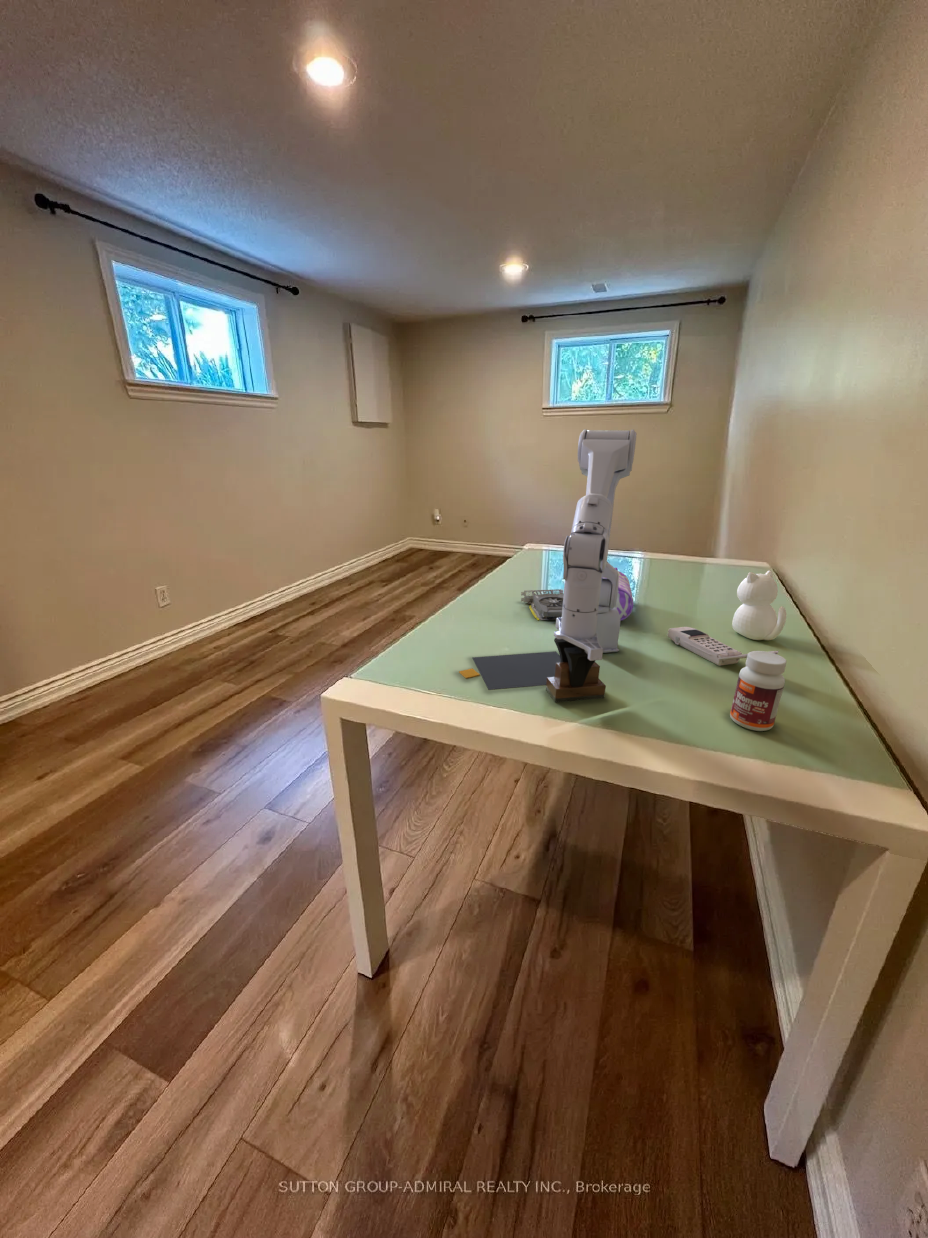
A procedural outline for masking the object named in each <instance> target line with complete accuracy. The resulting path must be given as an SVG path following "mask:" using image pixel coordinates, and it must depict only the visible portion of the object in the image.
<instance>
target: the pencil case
mask: <svg viewBox="0 0 928 1238" xmlns="http://www.w3.org/2000/svg"><path fill="white" fill-rule="evenodd" d="M614 568H615V569H616V570H617V571H618V574H619V580H618V581H619V586H618V594H617V601H616V607H615V608H616V609H617V610H618V612H619V615H620V622H622V621H625V620H626V619H627V618H629V617H630V616H631V614H632V612H633V610H634V597H633V592H632V588H631V584H630V580H629V577H627V575H626V574H625V573H623V572H622V571H619V570H618V569H619V568H618V567H614Z"/></svg>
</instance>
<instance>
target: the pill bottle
mask: <svg viewBox="0 0 928 1238" xmlns="http://www.w3.org/2000/svg"><path fill="white" fill-rule="evenodd" d="M747 654H748V656H747V658H746V660H745V666H744V667H742V668H741V669H740V671H739V673H738V676H737V677H738V678H737V682H736V685H735V691H734V695H733V699H732V704H731V707H730V712H729V716H730V719H731V720H732V722H734V723H735V724H736V725H739V726H740V727H742V728H744V729H747V730H750V731H755V732H756V731H757V732H763V731H764V732H765V731H769V730H771V729H773V727H774V725H775V722H776V718H777V714H778V712H779V711H778V710H779V706H780V703H781V699H782V696H783V692H784V688H785V683H786V678H785V677H784V675H783V674H784V673H785V672H786V671H785V670H786V666H787V659H786V658H785V657H784V656H781V655H779V654H774V653H771V652H770V651H765V650H752V651H749V652H748V653H747Z"/></svg>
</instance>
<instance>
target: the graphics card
mask: <svg viewBox="0 0 928 1238" xmlns="http://www.w3.org/2000/svg"><path fill="white" fill-rule="evenodd" d="M538 592H539V593H538ZM520 595H521V596H523V597H521V598H520V602H523V603H527V604H528V605H529V607H528V608H529V610H530V612H531V614H532V615H533V617H534V619H536V621H540V620H541V621H548V620H552V621H553V620H555V621H556V618H562V608H563V596H564V588H562V589H561V588H559V589H531V590H529V589H527V590H524V591H521V592H520Z"/></svg>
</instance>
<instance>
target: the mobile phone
mask: <svg viewBox="0 0 928 1238" xmlns="http://www.w3.org/2000/svg"><path fill="white" fill-rule="evenodd" d="M666 635H667V637H668V638H669V639H670V640H671V641H673V642H674V644H675V645H677V646H680V647H682V648H684V649H686V650H687V651H690V652H691V653H694V654H695V655H697V656H699V657H700V658H703V659H705V660H707V661H709V662H710V663H713V664H715V665H717V666H719V667H720V666H727V665H733V664H734V665H735V664H738V663H739V662H740V660H741V659H747V656H748V653H743V652H742V651H739V650H737V649H735V648H733V647H731V646H730V645H727V644H725V643H724V642H721V641H719V640H718V639H715V638H714V637H711V636H710V635H709V634H708V633H706V632H704V631H702V630H699V629H697V628H694V627H690V626H680V627H679V626H678V627H671V628H668V629H667V634H666ZM769 652H771V653H774V654H777V655H779V650H771V651H769Z"/></svg>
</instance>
